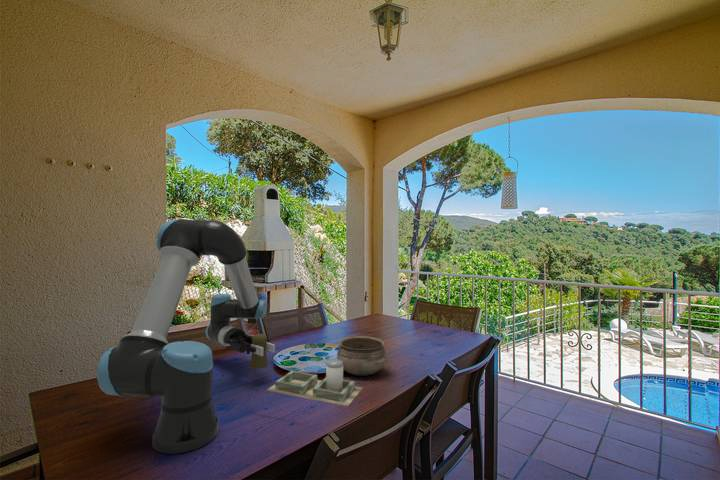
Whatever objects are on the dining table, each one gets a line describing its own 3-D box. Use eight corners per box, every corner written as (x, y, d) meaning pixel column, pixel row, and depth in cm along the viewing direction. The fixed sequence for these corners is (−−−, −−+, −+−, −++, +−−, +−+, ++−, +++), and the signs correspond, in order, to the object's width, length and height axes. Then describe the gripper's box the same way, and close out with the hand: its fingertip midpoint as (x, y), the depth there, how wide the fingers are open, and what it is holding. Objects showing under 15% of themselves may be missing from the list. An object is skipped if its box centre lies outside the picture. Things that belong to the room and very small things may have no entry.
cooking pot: (402, 377, 129) (402, 344, 129) (367, 392, 115) (368, 356, 115) (356, 359, 147) (357, 331, 147) (321, 370, 133) (322, 339, 133)
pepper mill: (262, 369, 117) (263, 337, 118) (246, 367, 119) (247, 336, 119) (270, 363, 123) (271, 333, 123) (255, 361, 125) (256, 331, 125)
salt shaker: (338, 397, 108) (339, 365, 108) (322, 394, 110) (323, 363, 110) (345, 390, 114) (346, 359, 114) (330, 387, 115) (330, 357, 115)
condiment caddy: (347, 410, 103) (347, 398, 103) (266, 393, 113) (266, 382, 113) (362, 391, 116) (362, 380, 116) (288, 377, 126) (288, 367, 126)
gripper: (251, 342, 139) (287, 355, 124) (210, 352, 126) (245, 367, 111) (252, 324, 139) (288, 334, 124) (211, 331, 126) (246, 344, 111)
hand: (268, 350), depth 118 cm, fingers closed on pepper mill, 4 cm apart
